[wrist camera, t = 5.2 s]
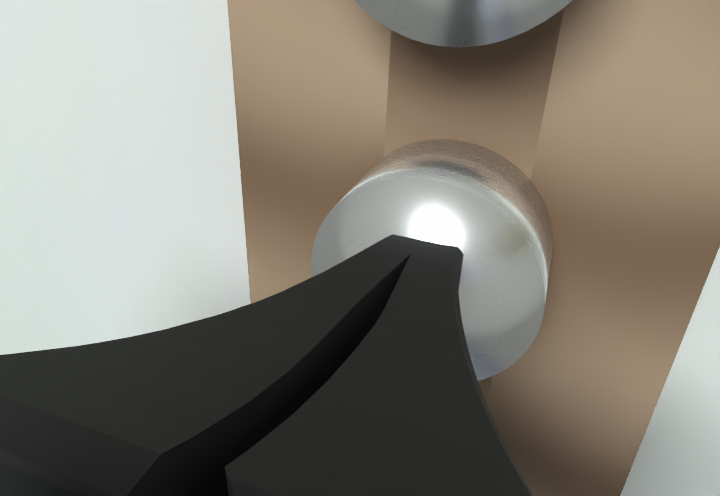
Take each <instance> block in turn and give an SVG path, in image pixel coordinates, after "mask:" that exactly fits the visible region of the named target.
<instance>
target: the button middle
mask: <svg viewBox="0 0 720 496" xmlns="http://www.w3.org/2000/svg"><path fill="white" fill-rule="evenodd" d="M392 234H394V235H399V236H404V237H409V238H414V239H419V240H424V241H429V242H434V243H439V244H444V245H450V246H455V247H459V249H460V250H461V251H462V253H463V254H464V255H463V262H462V269H461V276H460V283H459V290H458V293H459V302H460V311H461V318H462V324H463V329H464V333H465V338H466V342H467V346H468V350H469V354H470V358H471V361H472V364H473V368H474V371H475V374H476V377H477V380H478V381H480V380H483V379H486V378H489V377H492V376H494V375H496V374H498V373H500V372H502V371H504V370H505V369H507V368H508V367H509V366H511V365H512V364H514V363H515V362H516V361H517V360H518V359H519V358H520V357H521V356H522V355H523V354H524V353H525V352H526V351H527V349H528V348H529V347H530V345H531V344H532V343H533V341H534V339H535V337H536V335H537V333H538V331H539V328H540V325H541V322H542V319H543V314H544V307H545V300H546V293H547V286H548V279H549V272H550V265H551V257H552V250H553V230H552V224H551V219H550V216H549V213H548V209H547V207H546V205H545V203H544V201H543V198H542V196H541V195H540V193H539V192H538V190H537V189H536V187H535V186H534V184H533V183H532V182H531V180H530V179H529V178H528V177H527V176H526V175H525V174H524V173H523V172H522V171H521V170H520V169H519V168H518V167H517V166H515V165H514V164H513V163H512V162H510V161H509V160H507V159H506V158H504V157H503V156H501V155H500V154H498V153H496V152H494V151H492V150H490V149H488V148H485V147H482V146H479V145H477V144H474V143H470V142H465V141H460V140H451V139H432V140H425V141H419V142H415V143H412V144H409V145H406V146H403V147H401V148H399V149H397V150H395V151H393V152H391V153H389V154H388V155H387V156H385V157H384V158H382V159H381V160H380V161H379V162H378V163H377V164H375V165H374V166H373V167H372V168H371V169H370V170H369V171H368V172H367V173H366V174H365V175H364V177H363V178H362V179H361V180H360V181H359V182H358V183H357V184H356V185H355V186H354V187H353V188H352V189H351V190H350V191H349V192H348V193H347V194H346V195H345V196H344V197H343V198H342V199H341V200H340V201H339V202H338V203H337V204H336V206H335V207H334V208H333V209H332V210H331V211H330V212H329V214H328V215H327V216H326V217H325V219H324V221H323V222H322V224H321V226H320V228H319V230H318V232H317V235H316V238H315V240H314V244H313V249H312V255H311V274H312V277H313V276H316V275H318V274H320V273H322V272H324V271H326V270H328V269H330V268H331V267H333V266H335V265H337V264H339V263H341V262H343V261H344V260H346V259H348V258H350V257H352V256H354V255H355V254H357V253H359V252H361V251H362V250H364V249H366V248H368V247H370V246H371V245H373V244H375V243H377V242H378V241H380V240H382V239H384V238H386V237H388V236H390V235H392Z"/></svg>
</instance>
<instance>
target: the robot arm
mask: <svg viewBox="0 0 720 496" xmlns="http://www.w3.org/2000/svg"><path fill="white" fill-rule="evenodd" d="M463 255H464V254H463V253H462V251H461V250H460V249H459V247H455V246H450V245H444V244H439V243H434V242H429V241H424V240H419V239H414V238H409V237H404V236H399V235H394V234H392V235H390V236H388V237H386V238H384V239H382V240H380V241H378V242H377V243H375V244H373V245H371V246H370V247H368V248H366V249H364V250H362V251H361V252H359V253H357V254H355V255H354V256H352V257H350V258H348V259H346V260H344V261H343V262H341V263H339V264H337V265H335V266H333V267H331V268H330V269H328V270H326V271H324V272H322V273H320V274H318V275H316V276H313V277H311V278H309V279H307V280H305V281H303V282H301V283H299V284H297V285H294V286H292V287H290V288H288V289H286V290H284V291H282V292H279V293H277V294H275V295H272V296H270V297H267V298H265V299H262V300H260V301H257V302H254V303H252V304H249V305H246V306H243V307H240V308H238V309H235V310H232V311H229V312H226V313H223V314H220V315H216V316H213V317H209V318H205V319H202V320H198V321H194V322H191V323H187V324H184V325H180V326H176V327H173V328H169V329H165V330H161V331H156V332H152V333H147V334H142V335H138V336H133V337H128V338H122V339H117V340H111V341H106V342H100V343H94V344H88V345H81V346H75V347H66V348H58V349H50V350H41V351H33V352H24V353H16V354H7V355H0V496H534V495H533V494H532V492H531V490H530V489H529V487H528V485H527V483H526V482H525V480H524V478H523V476H522V475H521V473H520V471H519V469H518V467H517V466H516V464H515V462H514V460H513V459H512V457H511V455H510V453H509V451H508V449H507V446H506V444H505V442H504V440H503V438H502V436H501V434H500V432H499V430H498V428H497V426H496V423H495V421H494V419H493V417H492V415H491V413H490V411H489V409H488V406H487V404H486V401H485V398H484V396H483V393H482V391H481V388H480V385H479V383H478V380H477V377H476V374H475V371H474V368H473V364H472V361H471V358H470V354H469V350H468V346H467V342H466V338H465V333H464V329H463V324H462V318H461V311H460V302H459V293H458V290H459V283H460V276H461V269H462V262H463Z"/></svg>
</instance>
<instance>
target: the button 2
mask: <svg viewBox="0 0 720 496" xmlns="http://www.w3.org/2000/svg"><path fill="white" fill-rule="evenodd" d="M355 1H356V3H357V4H358V5H359V6H360V7H361V8H362V9H363V10H365V11H366V12H367V13H368V14H369V15H370V16H371V17H373V18H374V19H375V20H377V21H378V22H380V23H381V24H383V25H384V26H386V27H387V28H389V29H390V30H392V31H394V32H396V33H398V34H401V35H403V36H405V37H407V38H410V39H413V40H416V41H419V42H422V43H425V44H431V45H437V46H443V47H472V46H481V45H487V44H491V43H495V42H499V41H503V40H506V39H509V38H511V37H514V36H516V35H519V34H521V33H524V32H526V31H528V30H530V29H532V28H533V27H535V26H537V25H539V24H541V23H543V22H544V21H546V20H547V19H549V18H550V17H552V16H553V15H554V14H556V13H557V12H559V11H560V10H561V9H563V8H564V7H565V6H567V5H568V4H569V3H570V2H571V1H572V0H355Z"/></svg>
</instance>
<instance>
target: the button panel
mask: <svg viewBox="0 0 720 496" xmlns="http://www.w3.org/2000/svg"><path fill="white" fill-rule="evenodd" d="M227 2H228V14H229V27H230V40H231V53H232V66H233V79H234V92H235V105H236V117H237V130H238V143H239V156H240V169H241V182H242V195H243V208H244V221H245V233H246V246H247V259H248V272H249V285H250V298H251V304H252V303H254V302H257V301H260V300H262V299H265V298H267V297H270V296H272V295H275V294H277V293H279V292H282V291H284V290H286V289H288V288H290V287H292V286H294V285H297V284H299V283H301V282H303V281H305V280H307V279H309V278H311V277H312V274H311V255H312V249H313V244H314V240H315V238H316V235H317V232H318V230H319V228H320V226H321V224H322V222H323V221H324V219H325V217H326V216H327V215H328V214H329V212H330V211H331V210H332V209H333V208H334V207H335V206H336V204H337V203H338V202H339V201H340V200H341V199H342V198H343V197H344V196H345V195H346V194H347V193H348V192H349V191H350V190H351V189H352V188H353V187H354V186H355V185H356V184H357V183H358V182H359V181H360V180H361V179H362V178H363V177H364V175H365V174H366V173H367V172H368V171H369V170H370V169H371V168H372V167H373V166H374V165H375V164H377V163H378V162H379V161H380V160H381V159H382V158H384V157H385V156H387V155H388V154H389V153H391V152H393V151H395V150H397V149H399V148H401V147H403V146H406V145H409V144H412V143H415V142H419V141H425V140H432V139H451V140H460V141H465V142H470V143H474V144H477V145H479V146H482V147H485V148H488V149H490V150H492V151H494V152H496V153H498V154H500V155H501V156H503V157H504V158H506V159H507V160H509V161H510V162H512V163H513V164H514V165H515V166H517V167H518V168H519V169H520V170H521V171H522V172H523V173H524V174H525V175H526V176H527V177H528V178H529V179H530V180H531V182H532V183H533V184H534V186H535V187H536V189H537V190H538V192H539V193H540V195H541V196H542V198H543V201H544V203H545V205H546V207H547V209H548V213H549V216H550V219H551V224H552V230H553V250H552V257H551V265H550V272H549V279H548V286H547V293H546V300H545V307H544V314H543V319H542V322H541V325H540V328H539V331H538V333H537V335H536V337H535V339H534V341H533V343H532V344H531V345H530V347H529V348H528V349H527V351H526V352H525V353H524V354H523V355H522V356H521V357H520V358H519V359H518V360H517V361H516V362H515V363H514V364H512V365H511V366H509V367H508V368H507V369H505V370H504V371H502V372H500V373H498V374H496V375H494V376H492V377H489V378H486V379H483V380H480V381H478V383H479V385H480V388H481V391H482V393H483V396H484V398H485V401H486V404H487V406H488V409H489V411H490V413H491V415H492V417H493V419H494V421H495V423H496V426H497V428H498V430H499V432H500V434H501V436H502V438H503V440H504V442H505V444H506V446H507V449H508V451H509V453H510V455H511V457H512V459H513V460H514V462H515V464H516V466H517V467H518V469H519V471H520V473H521V475H522V476H523V478H524V480H525V482H526V483H527V485H528V487H529V489H530V490H531V492H532V494H533V495H534V496H620V494H621V492H622V489H623V487H624V484H625V482H626V479H627V477H628V474H629V472H630V469H631V467H632V464H633V462H634V459H635V457H636V454H637V452H638V449H639V447H640V444H641V442H642V439H643V437H644V434H645V432H646V429H647V427H648V424H649V422H650V419H651V417H652V414H653V412H654V409H655V407H656V404H657V402H658V399H659V397H660V394H661V392H662V389H663V387H664V384H665V381H666V379H667V376H668V374H669V371H670V369H671V366H672V364H673V361H674V359H675V356H676V354H677V351H678V349H679V346H680V344H681V341H682V339H683V336H684V334H685V331H686V329H687V326H688V324H689V321H690V319H691V316H692V314H693V311H694V309H695V306H696V304H697V301H698V299H699V296H700V294H701V291H702V289H703V286H704V284H705V281H706V279H707V276H708V274H709V271H710V269H711V266H712V264H713V261H714V259H715V256H716V254H717V251H718V249H719V246H720V0H572V1H571V2H570V3H569V4H568V5H567V6H565V7H564V8H563V9H561V10H560V11H559V12H557V13H556V14H554V15H553V16H552V17H550V18H549V19H547V20H546V21H544V22H543V23H541V24H539V25H537V26H535V27H533V28H532V29H530V30H528V31H526V32H524V33H521V34H519V35H516V36H514V37H511V38H509V39H506V40H503V41H499V42H495V43H491V44H487V45H481V46H472V47H443V46H437V45H431V44H425V43H422V42H419V41H416V40H413V39H410V38H407V37H405V36H403V35H401V34H398V33H396V32H394V31H392V30H390V29H389V28H387V27H386V26H384V25H383V24H381V23H380V22H378V21H377V20H375V19H374V18H373V17H371V16H370V15H369V14H368V13H367V12H366V11H365V10H363V9H362V8H361V7H360V6H359V5H358V4H357V3H356V1H355V0H227Z"/></svg>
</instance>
